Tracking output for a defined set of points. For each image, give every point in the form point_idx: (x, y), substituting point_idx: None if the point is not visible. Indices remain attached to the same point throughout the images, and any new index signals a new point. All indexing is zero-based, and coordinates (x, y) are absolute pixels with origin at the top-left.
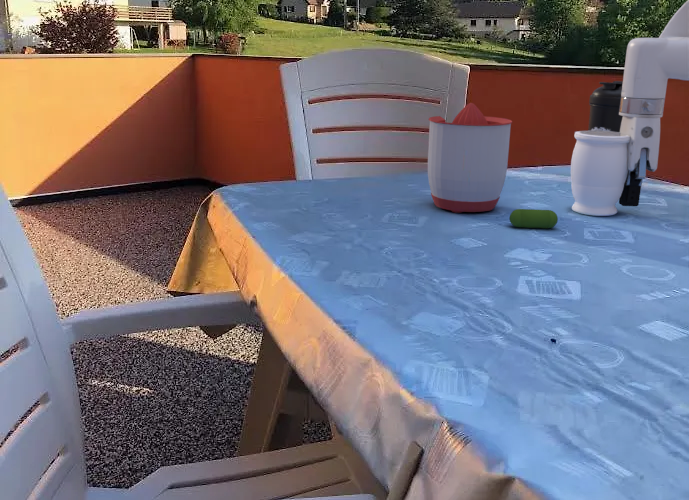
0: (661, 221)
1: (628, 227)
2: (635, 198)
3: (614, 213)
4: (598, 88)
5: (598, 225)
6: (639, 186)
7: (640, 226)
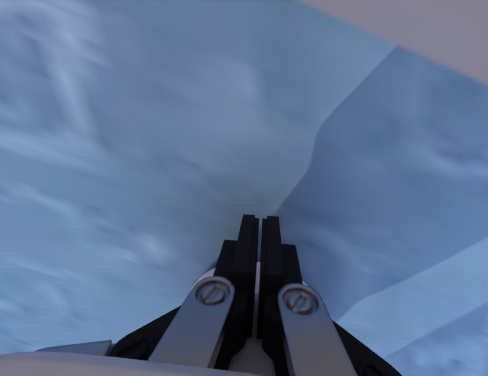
0: (390, 150)
1: (461, 290)
2: (295, 254)
3: (306, 284)
4: None
5: (422, 351)
6: (282, 279)
7: (456, 252)
